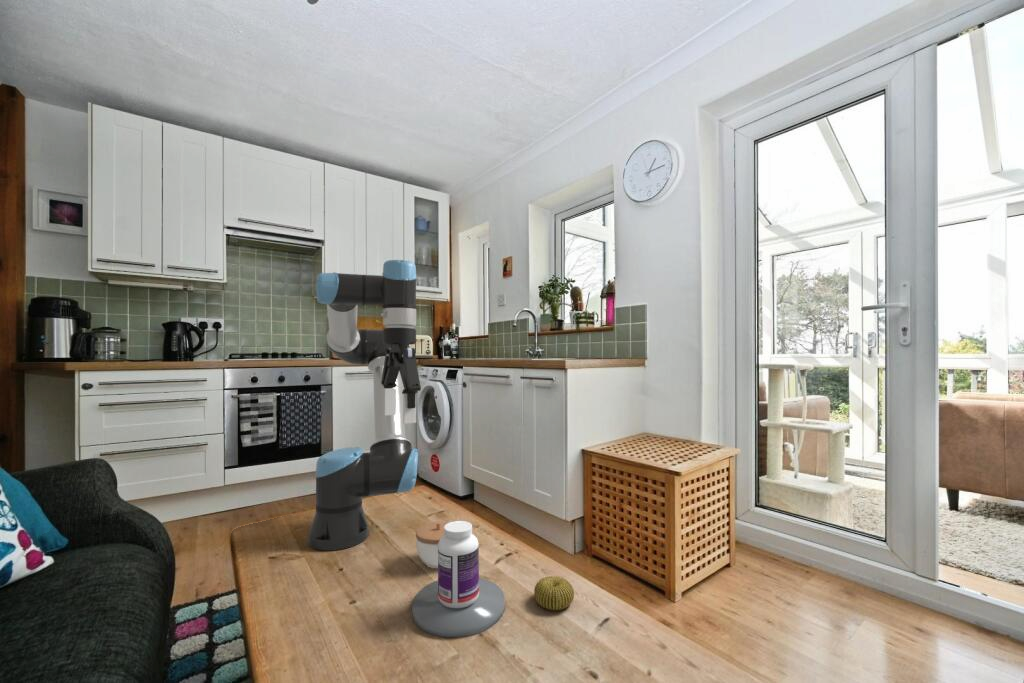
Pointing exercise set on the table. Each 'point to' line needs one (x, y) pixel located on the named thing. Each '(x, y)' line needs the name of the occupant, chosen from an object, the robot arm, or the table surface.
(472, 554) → the pill bottle
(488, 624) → the grey plate
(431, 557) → the lidded jar
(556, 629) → the table surface
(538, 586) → the green barrel cactus
